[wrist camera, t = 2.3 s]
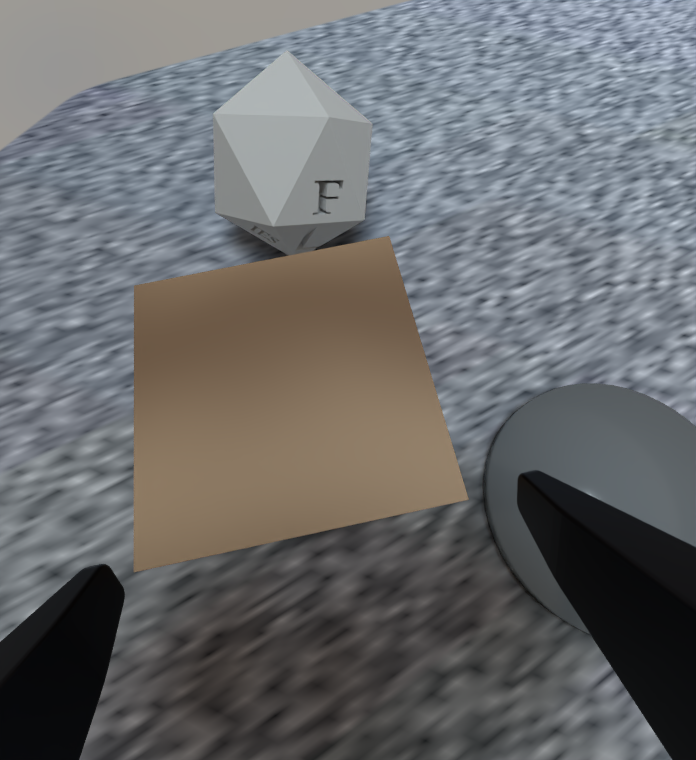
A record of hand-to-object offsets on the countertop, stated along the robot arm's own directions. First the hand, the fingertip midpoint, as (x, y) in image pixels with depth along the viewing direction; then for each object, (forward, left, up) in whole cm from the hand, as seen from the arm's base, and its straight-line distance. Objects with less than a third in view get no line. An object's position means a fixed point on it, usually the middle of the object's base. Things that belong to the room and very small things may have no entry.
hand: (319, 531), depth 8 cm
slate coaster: (+5, -11, -10) cm, 16 cm away
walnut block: (+2, +1, -10) cm, 10 cm away
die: (+16, +8, -10) cm, 21 cm away
